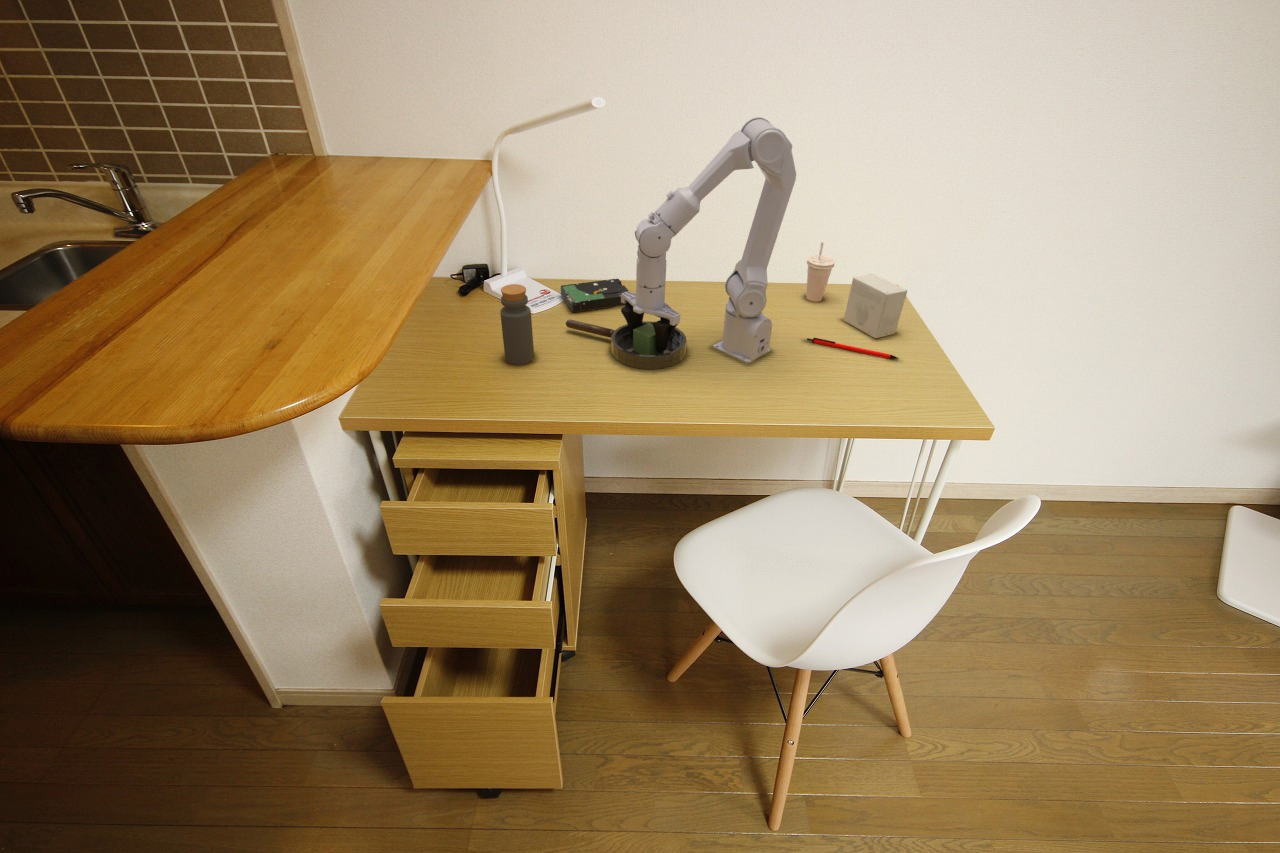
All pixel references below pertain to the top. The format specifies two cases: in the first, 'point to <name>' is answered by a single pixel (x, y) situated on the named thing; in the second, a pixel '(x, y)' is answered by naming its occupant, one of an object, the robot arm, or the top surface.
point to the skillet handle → (589, 328)
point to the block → (645, 340)
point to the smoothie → (818, 275)
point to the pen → (851, 348)
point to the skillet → (629, 357)
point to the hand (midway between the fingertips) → (648, 344)
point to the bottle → (516, 325)
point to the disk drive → (593, 294)
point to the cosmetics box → (874, 305)
